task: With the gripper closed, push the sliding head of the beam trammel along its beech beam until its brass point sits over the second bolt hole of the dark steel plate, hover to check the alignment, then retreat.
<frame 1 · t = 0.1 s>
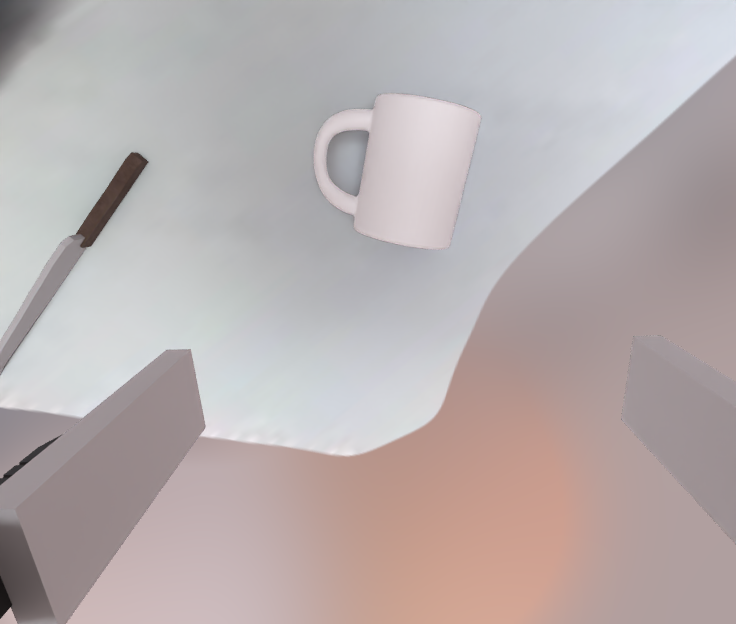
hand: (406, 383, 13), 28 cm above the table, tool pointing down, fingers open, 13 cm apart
kitchen knife: (64, 278, 43), on the table
mug: (389, 169, 38), on the table
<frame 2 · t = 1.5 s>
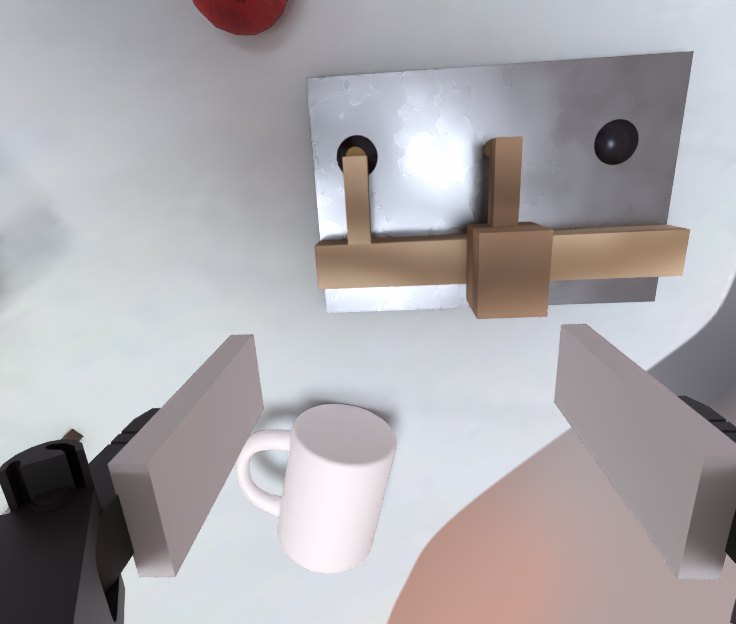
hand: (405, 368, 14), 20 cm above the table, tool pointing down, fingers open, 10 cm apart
sliding head: (502, 223, 27), point 5 cm above the table, slide at 0.0 cm
mug: (318, 447, 39), on the table
bolt plate: (486, 195, 31), on the table
beam: (485, 250, 32), resting on bolt plate
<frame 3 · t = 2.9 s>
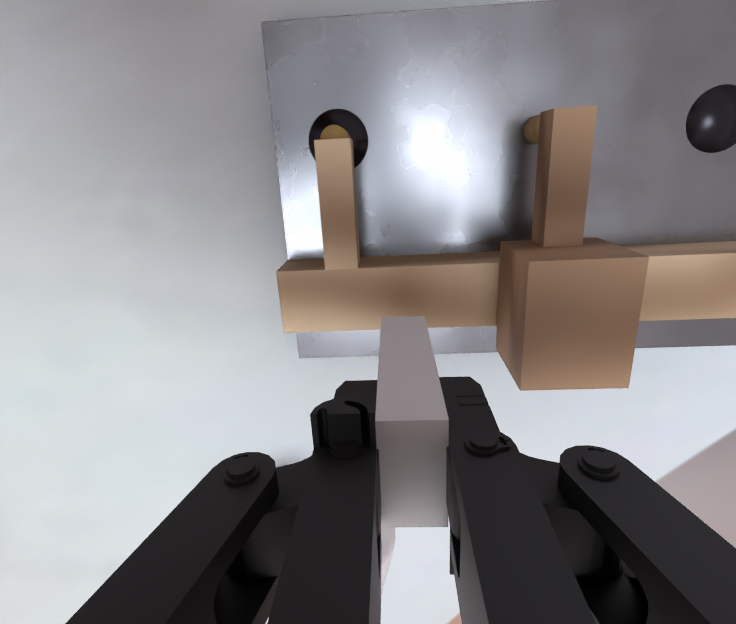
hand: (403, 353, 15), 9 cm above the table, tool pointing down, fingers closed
sliding head: (554, 241, 18), point 5 cm above the table, slide at 0.0 cm
mug: (294, 522, 30), on the table
bolt plate: (523, 196, 22), on the table
beam: (518, 273, 23), resting on bolt plate
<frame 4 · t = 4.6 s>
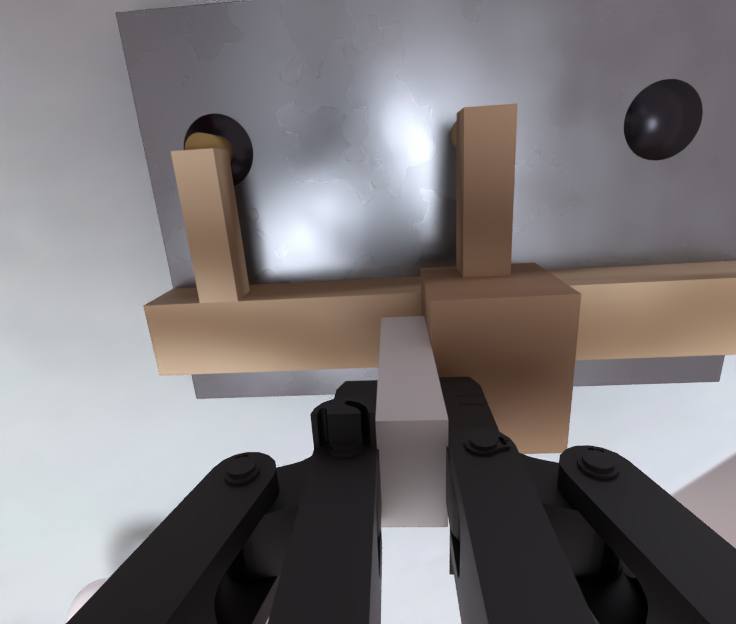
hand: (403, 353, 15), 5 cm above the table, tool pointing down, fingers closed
sliding head: (481, 268, 15), point 5 cm above the table, slide at 0.7 cm, touching gripper
mug: (214, 575, 27), on the table
bolt plate: (443, 212, 19), on the table
beam: (444, 300, 20), resting on bolt plate
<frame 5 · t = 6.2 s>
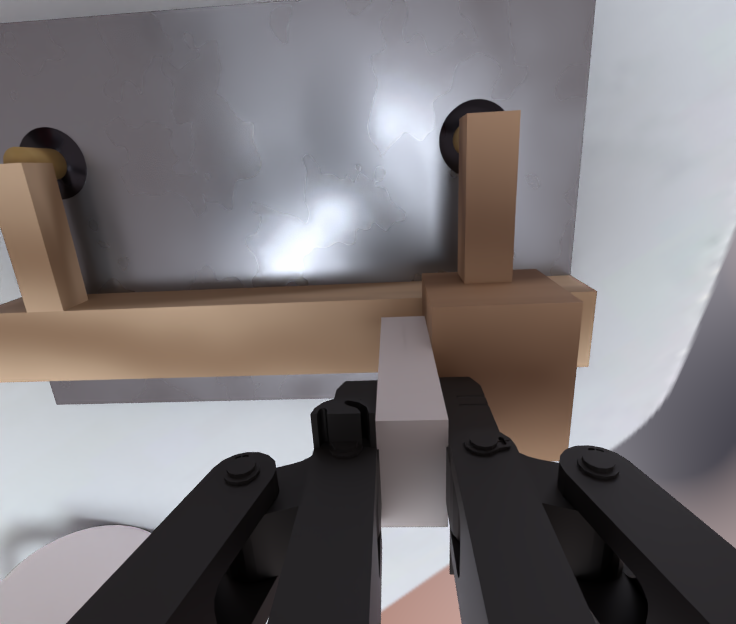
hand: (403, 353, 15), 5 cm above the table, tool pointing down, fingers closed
sliding head: (482, 274, 15), point 5 cm above the table, slide at 7.7 cm, touching gripper
mug: (101, 578, 27), on the table
bolt plate: (285, 224, 19), on the table
beam: (295, 310, 21), resting on bolt plate
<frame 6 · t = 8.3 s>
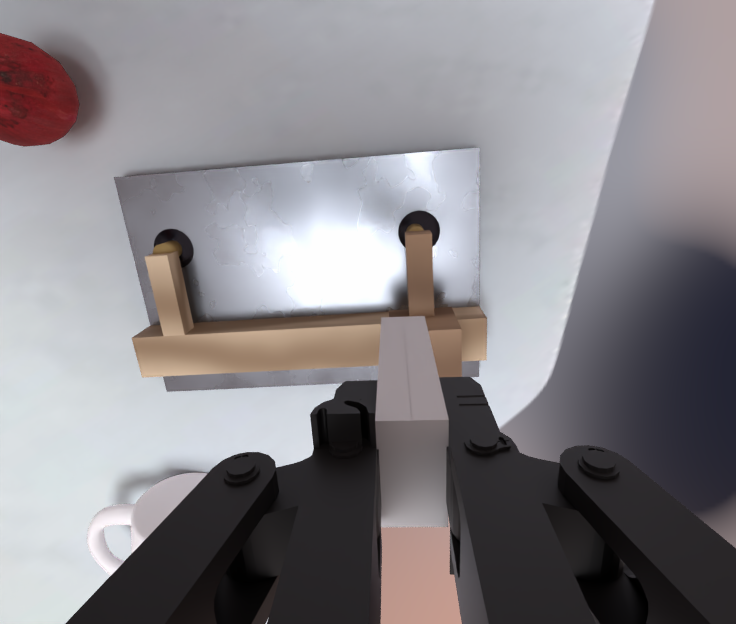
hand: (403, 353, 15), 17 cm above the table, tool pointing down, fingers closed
sliding head: (420, 311, 27), point 5 cm above the table, slide at 7.7 cm
mug: (185, 511, 40), on the table
onion: (64, 101, 29), on the table
bolt plate: (309, 278, 32), on the table
beam: (315, 329, 33), resting on bolt plate
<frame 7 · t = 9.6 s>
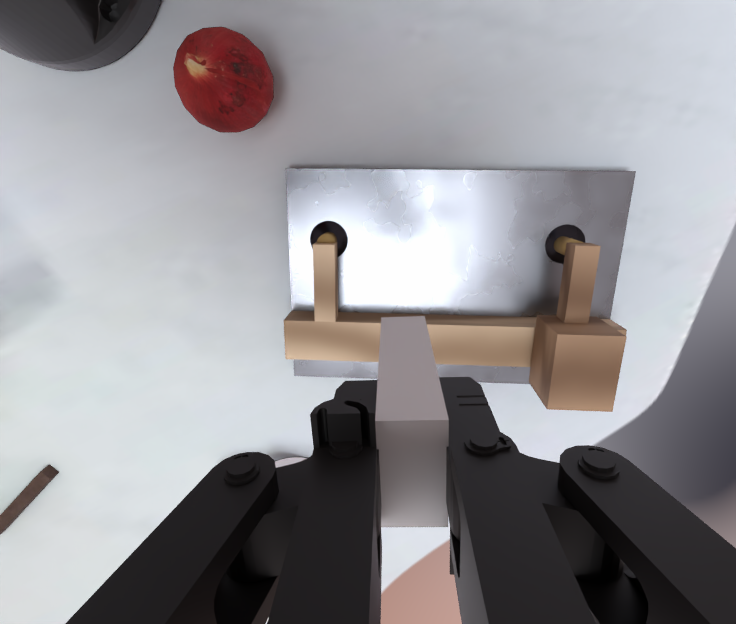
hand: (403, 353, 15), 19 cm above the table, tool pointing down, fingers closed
sliding head: (571, 318, 29), point 5 cm above the table, slide at 7.7 cm
onion: (245, 94, 31), on the table
bolt plate: (447, 279, 34), on the table
beam: (444, 328, 35), resting on bolt plate
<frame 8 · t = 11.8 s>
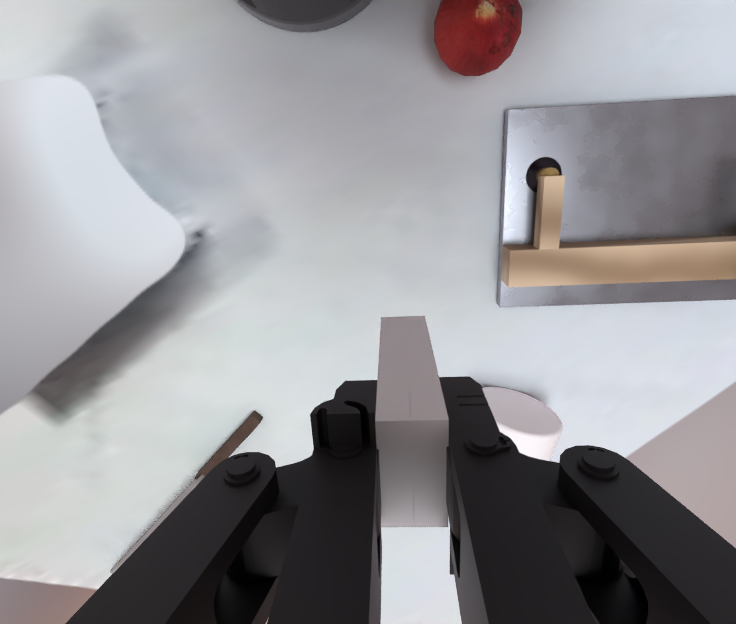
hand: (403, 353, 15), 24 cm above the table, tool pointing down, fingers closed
kitchen knife: (180, 496, 49), on the table
mug: (471, 425, 44), on the table
onion: (467, 43, 34), on the table
bolt plate: (646, 207, 37), on the table
beam: (639, 254, 38), resting on bolt plate
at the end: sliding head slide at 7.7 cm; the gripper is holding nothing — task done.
